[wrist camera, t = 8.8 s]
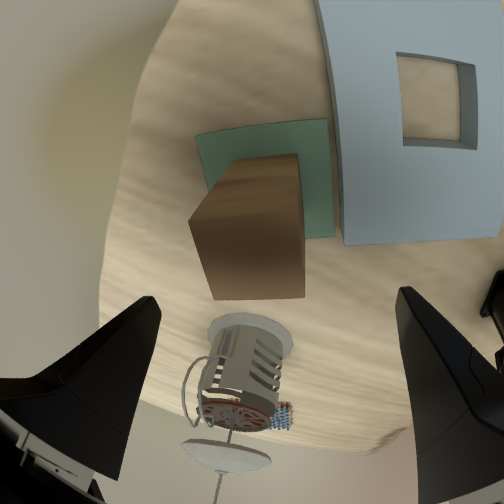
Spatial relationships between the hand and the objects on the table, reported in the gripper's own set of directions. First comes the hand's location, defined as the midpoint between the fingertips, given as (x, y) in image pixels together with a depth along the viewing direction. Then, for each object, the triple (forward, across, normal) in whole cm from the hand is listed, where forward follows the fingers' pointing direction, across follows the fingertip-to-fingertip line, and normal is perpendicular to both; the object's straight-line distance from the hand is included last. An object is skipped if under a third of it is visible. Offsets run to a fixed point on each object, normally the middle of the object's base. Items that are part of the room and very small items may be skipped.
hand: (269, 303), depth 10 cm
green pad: (+12, +1, 0) cm, 12 cm away
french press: (+12, +6, +17) cm, 22 cm away
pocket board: (+12, -11, -6) cm, 17 cm away
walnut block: (+12, +1, 0) cm, 12 cm away
